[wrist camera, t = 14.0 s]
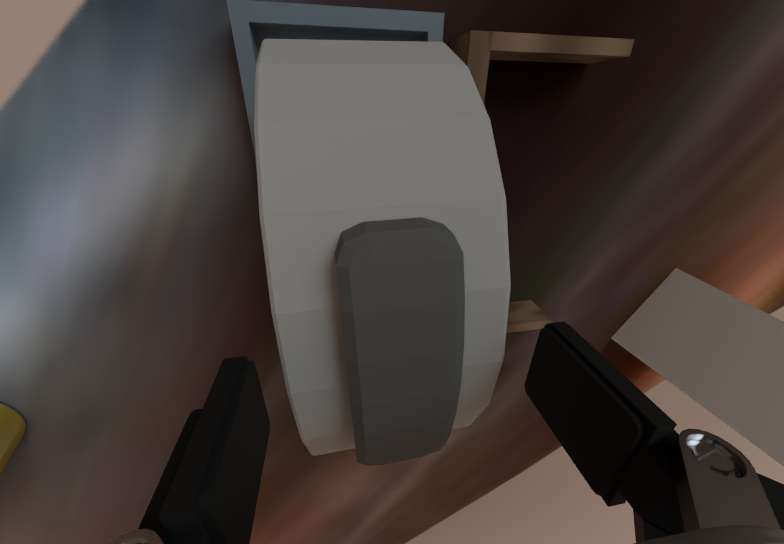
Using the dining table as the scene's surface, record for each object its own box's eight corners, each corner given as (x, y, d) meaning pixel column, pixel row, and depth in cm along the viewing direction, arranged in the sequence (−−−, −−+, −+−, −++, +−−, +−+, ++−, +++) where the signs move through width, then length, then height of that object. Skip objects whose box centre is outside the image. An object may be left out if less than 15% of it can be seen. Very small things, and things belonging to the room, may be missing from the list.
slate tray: (430, 24, 23) (444, 13, 20) (415, 326, 35) (422, 344, 32) (238, 13, 21) (226, -2, 18) (294, 340, 33) (291, 360, 30)
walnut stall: (592, 48, 26) (634, 39, 22) (528, 307, 37) (550, 327, 34) (449, 42, 23) (470, 30, 20) (428, 318, 35) (440, 341, 31)
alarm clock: (287, 64, 21) (138, -129, 4) (395, 64, 23) (629, -83, 5) (323, 320, 31) (324, 581, 14) (397, 310, 32) (482, 540, 15)
